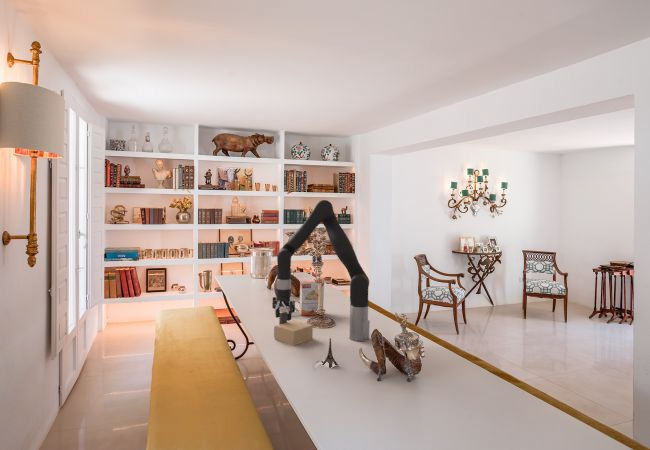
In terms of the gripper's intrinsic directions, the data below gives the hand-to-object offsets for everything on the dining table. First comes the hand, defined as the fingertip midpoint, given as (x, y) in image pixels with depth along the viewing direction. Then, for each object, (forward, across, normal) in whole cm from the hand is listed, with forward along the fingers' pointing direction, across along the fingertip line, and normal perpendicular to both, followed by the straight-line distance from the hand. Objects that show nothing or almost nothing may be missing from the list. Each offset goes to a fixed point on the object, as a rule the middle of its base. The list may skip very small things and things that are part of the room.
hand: (283, 318), depth 220 cm
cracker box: (+9, +17, -42) cm, 46 cm away
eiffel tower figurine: (+10, -42, +14) cm, 45 cm away
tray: (+8, -6, 0) cm, 10 cm away
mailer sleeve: (+9, -8, 0) cm, 12 cm away
